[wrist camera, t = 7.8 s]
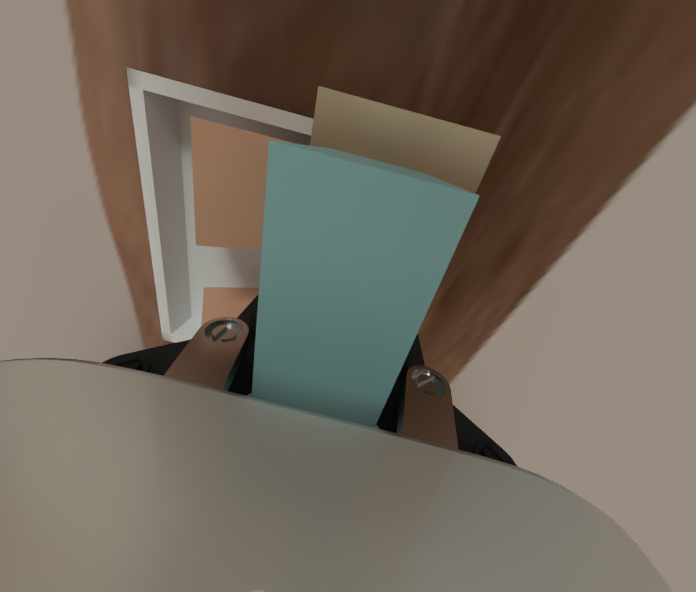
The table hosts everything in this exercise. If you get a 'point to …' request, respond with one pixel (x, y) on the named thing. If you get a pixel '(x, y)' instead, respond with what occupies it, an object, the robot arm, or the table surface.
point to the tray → (191, 191)
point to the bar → (347, 276)
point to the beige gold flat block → (402, 138)
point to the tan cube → (228, 184)
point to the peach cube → (226, 301)
